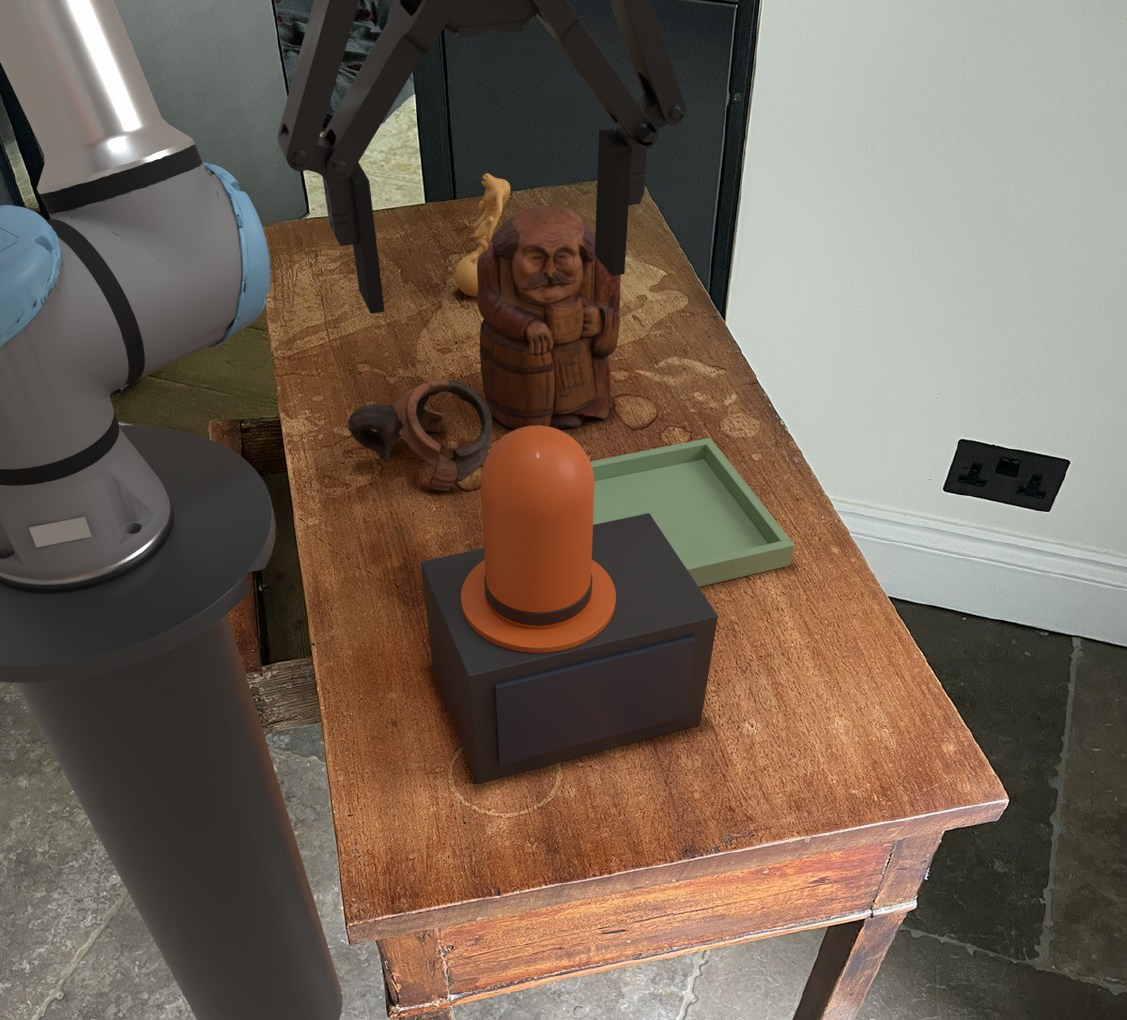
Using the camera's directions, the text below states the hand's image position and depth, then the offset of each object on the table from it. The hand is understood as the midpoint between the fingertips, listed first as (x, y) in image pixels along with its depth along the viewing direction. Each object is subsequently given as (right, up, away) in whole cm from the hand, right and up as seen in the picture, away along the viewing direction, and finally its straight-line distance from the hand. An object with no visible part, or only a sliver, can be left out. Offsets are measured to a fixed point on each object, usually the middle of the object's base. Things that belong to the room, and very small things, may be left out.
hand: (493, 283), depth 58 cm
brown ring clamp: (-8, -1, +35) cm, 36 cm away
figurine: (-5, +23, +55) cm, 60 cm away
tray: (+12, -7, +29) cm, 32 cm away
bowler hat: (+2, -16, +8) cm, 18 cm away
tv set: (+4, -22, +16) cm, 28 cm away
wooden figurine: (+3, +5, +40) cm, 40 cm away
